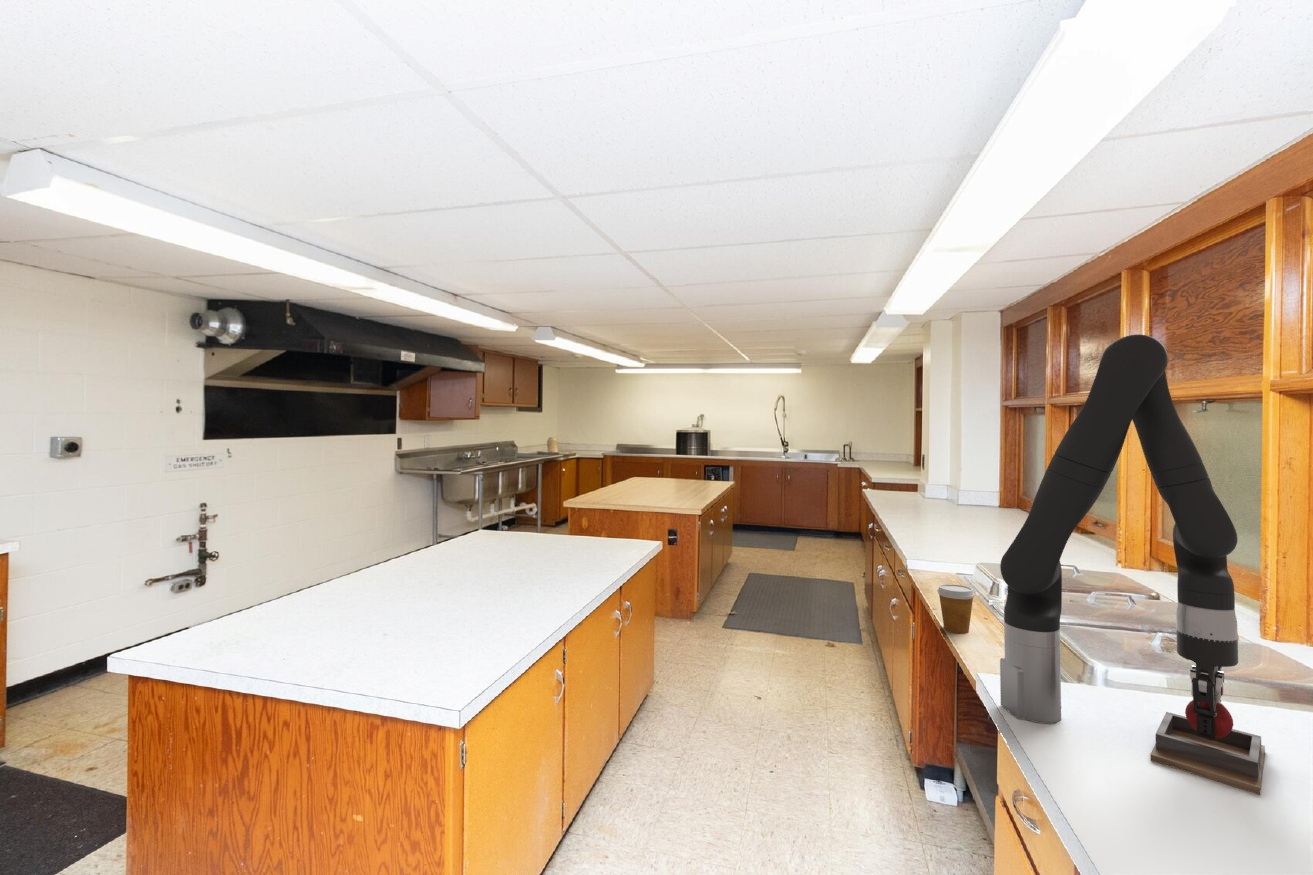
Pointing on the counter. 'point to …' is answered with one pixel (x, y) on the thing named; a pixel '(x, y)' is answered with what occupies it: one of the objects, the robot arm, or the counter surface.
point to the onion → (1222, 719)
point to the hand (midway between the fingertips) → (1208, 730)
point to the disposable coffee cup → (956, 607)
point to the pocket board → (1210, 753)
